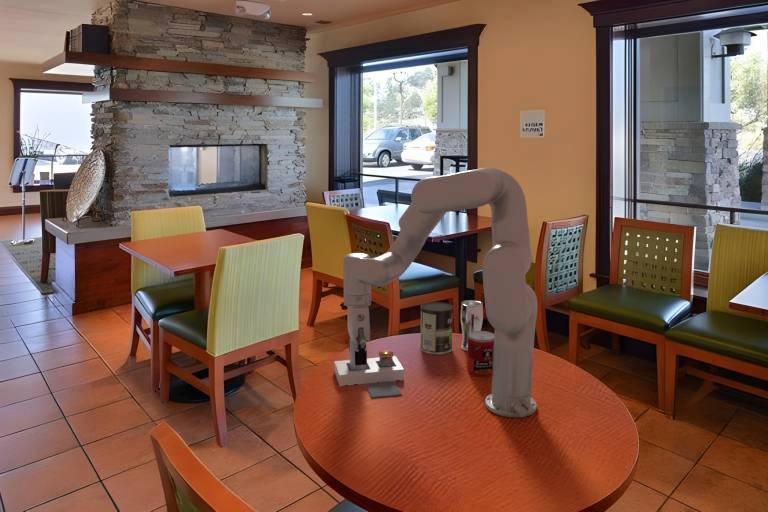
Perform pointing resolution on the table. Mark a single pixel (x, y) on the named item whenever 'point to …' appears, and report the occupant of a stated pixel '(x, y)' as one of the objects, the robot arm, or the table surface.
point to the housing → (368, 372)
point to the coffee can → (436, 327)
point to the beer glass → (470, 319)
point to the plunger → (385, 358)
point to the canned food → (480, 353)
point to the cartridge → (352, 358)
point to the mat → (383, 389)
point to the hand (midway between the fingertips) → (357, 357)
